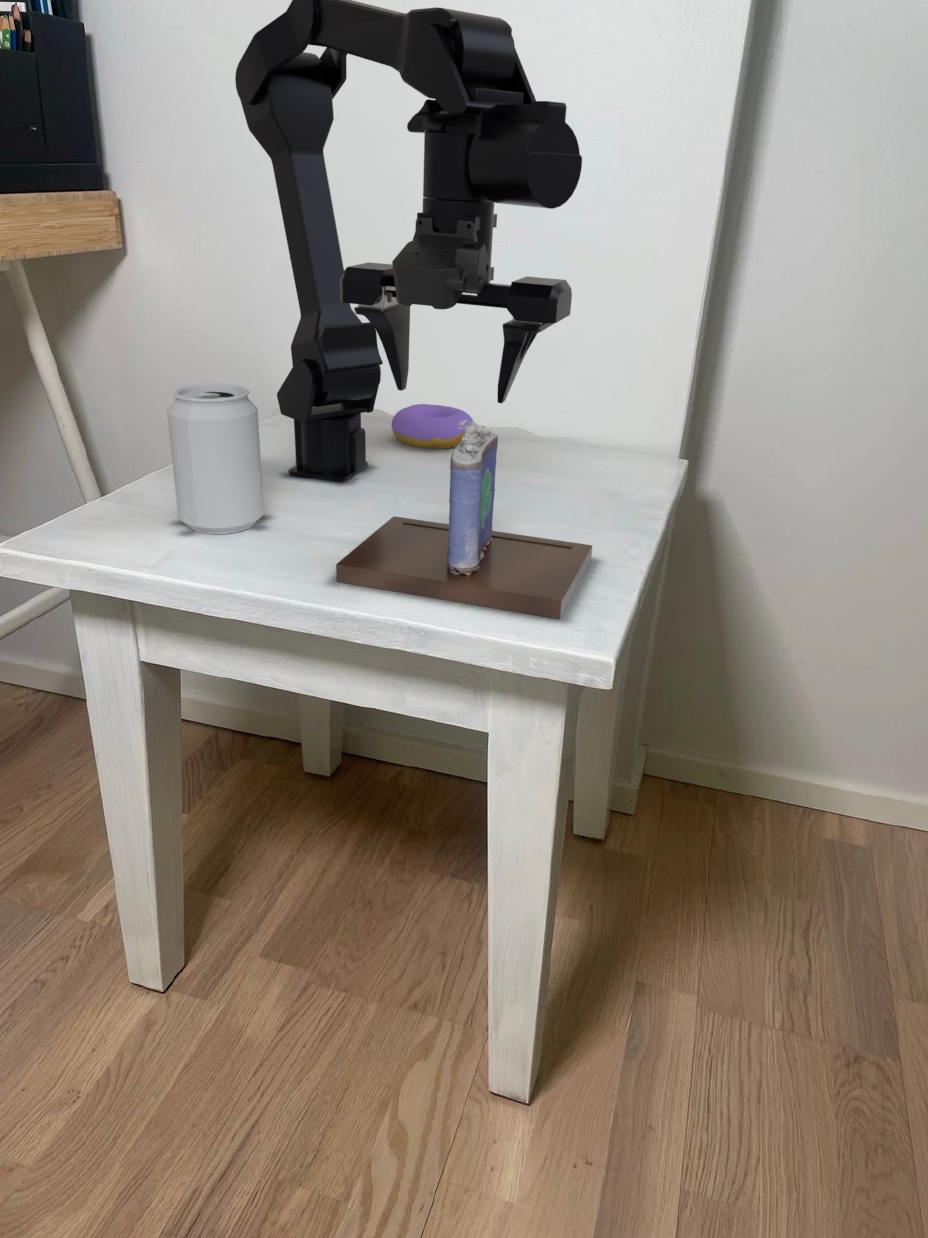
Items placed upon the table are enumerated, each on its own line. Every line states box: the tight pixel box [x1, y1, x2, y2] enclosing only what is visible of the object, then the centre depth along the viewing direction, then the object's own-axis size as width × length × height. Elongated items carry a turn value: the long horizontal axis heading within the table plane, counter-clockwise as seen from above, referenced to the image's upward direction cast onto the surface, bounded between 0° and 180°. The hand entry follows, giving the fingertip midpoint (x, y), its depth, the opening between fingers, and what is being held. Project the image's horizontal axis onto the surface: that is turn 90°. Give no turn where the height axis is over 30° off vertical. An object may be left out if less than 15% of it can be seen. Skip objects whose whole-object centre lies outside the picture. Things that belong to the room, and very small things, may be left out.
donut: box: [391, 403, 474, 450], centre depth 109 cm, size 10×9×5 cm
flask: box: [447, 420, 499, 575], centre depth 72 cm, size 9×3×11 cm, turn 168°
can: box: [166, 383, 265, 535], centre depth 81 cm, size 8×8×12 cm
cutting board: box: [335, 515, 593, 620], centre depth 75 cm, size 18×12×2 cm, turn 72°
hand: (450, 395), depth 80 cm, fingers open, 9 cm apart
